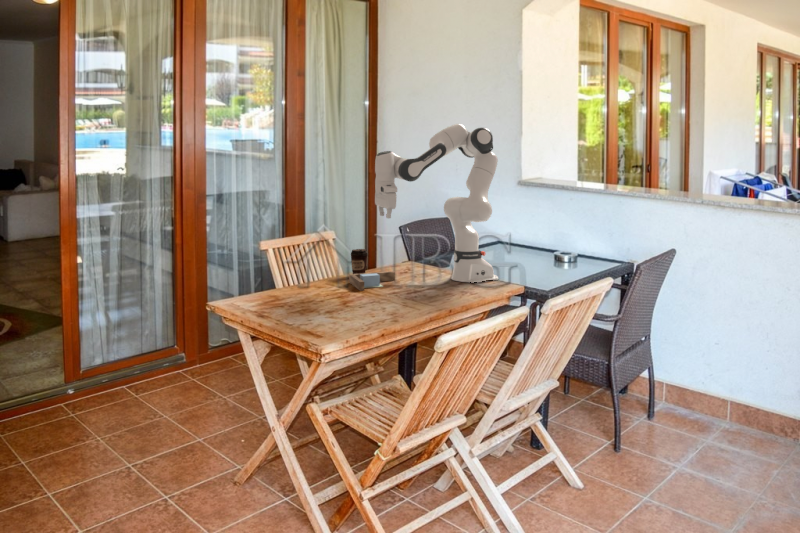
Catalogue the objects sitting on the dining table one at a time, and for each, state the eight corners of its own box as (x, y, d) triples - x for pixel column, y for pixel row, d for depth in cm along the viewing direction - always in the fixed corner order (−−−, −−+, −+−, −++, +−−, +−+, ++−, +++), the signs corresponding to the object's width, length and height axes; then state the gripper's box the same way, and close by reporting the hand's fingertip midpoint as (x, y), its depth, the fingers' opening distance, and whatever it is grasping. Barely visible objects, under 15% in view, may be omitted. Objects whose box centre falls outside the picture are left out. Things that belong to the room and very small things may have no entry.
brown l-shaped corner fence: (393, 279, 359) (393, 271, 358) (406, 287, 343) (406, 278, 342) (348, 282, 352) (348, 274, 351) (359, 290, 335) (359, 281, 335)
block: (360, 285, 346) (359, 274, 345) (376, 283, 348) (376, 273, 347) (363, 287, 341) (363, 276, 340) (379, 285, 344) (379, 275, 343)
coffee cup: (365, 278, 362) (365, 251, 359) (348, 277, 364) (348, 250, 361) (369, 274, 370) (369, 248, 368) (353, 273, 372) (353, 247, 369)
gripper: (371, 185, 354) (371, 214, 357) (385, 189, 336) (385, 220, 338) (384, 184, 357) (384, 213, 359) (398, 188, 338) (399, 219, 340)
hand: (385, 216), depth 349 cm, fingers open, 8 cm apart
